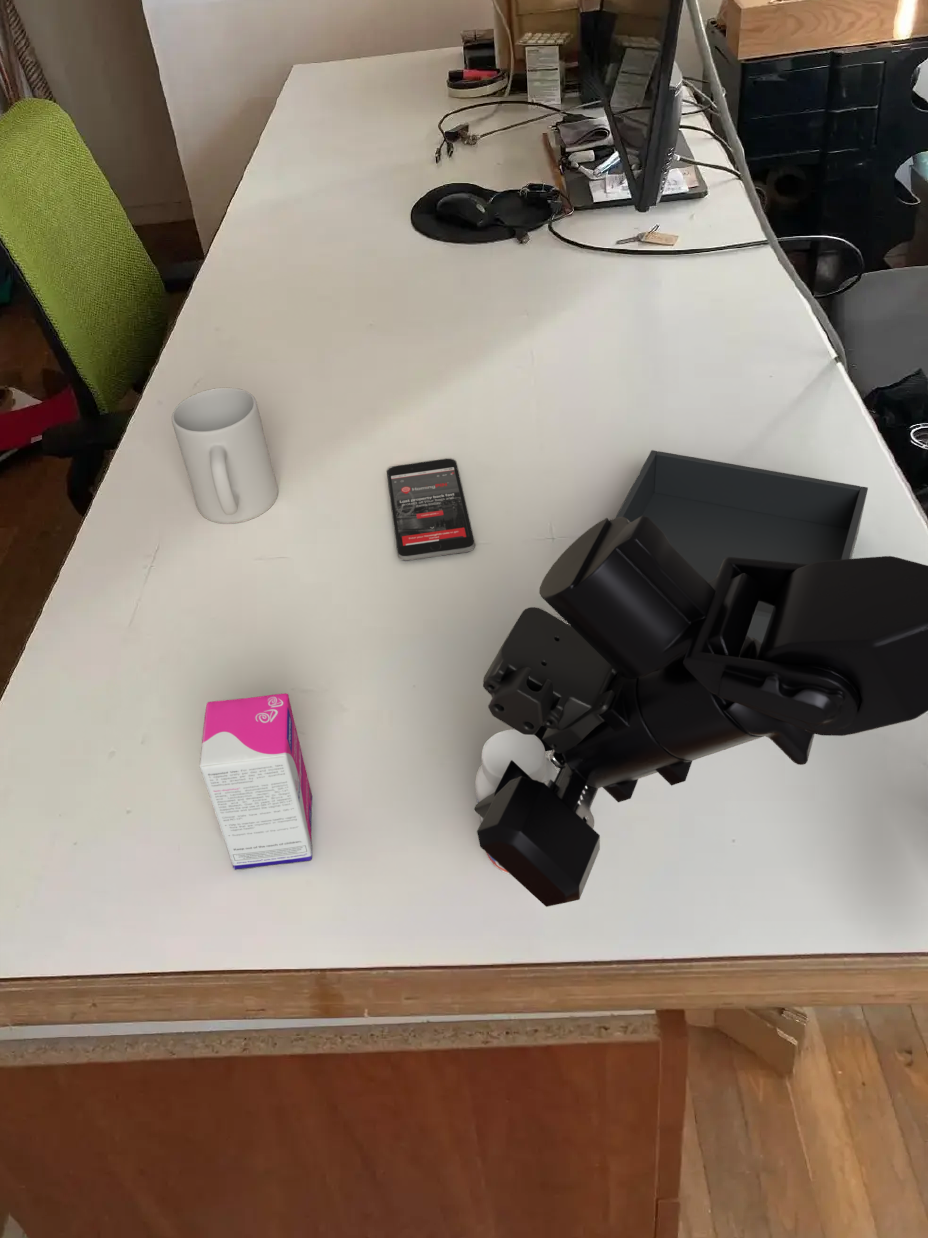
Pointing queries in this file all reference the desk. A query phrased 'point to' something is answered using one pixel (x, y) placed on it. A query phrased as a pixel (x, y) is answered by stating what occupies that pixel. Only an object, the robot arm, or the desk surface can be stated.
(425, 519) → the smartphone
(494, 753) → the pill bottle
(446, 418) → the desk surface
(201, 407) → the mug
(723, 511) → the dark grey storage tray
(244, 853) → the supplement box
